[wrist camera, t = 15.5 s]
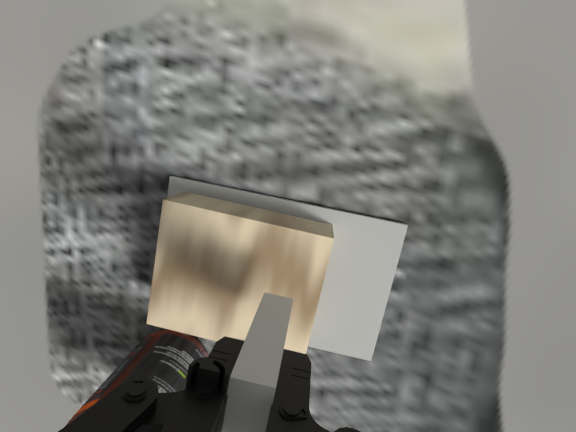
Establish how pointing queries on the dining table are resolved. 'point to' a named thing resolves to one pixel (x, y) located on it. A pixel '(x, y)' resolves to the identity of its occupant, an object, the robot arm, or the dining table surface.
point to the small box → (235, 268)
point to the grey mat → (335, 266)
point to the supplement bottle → (154, 364)
